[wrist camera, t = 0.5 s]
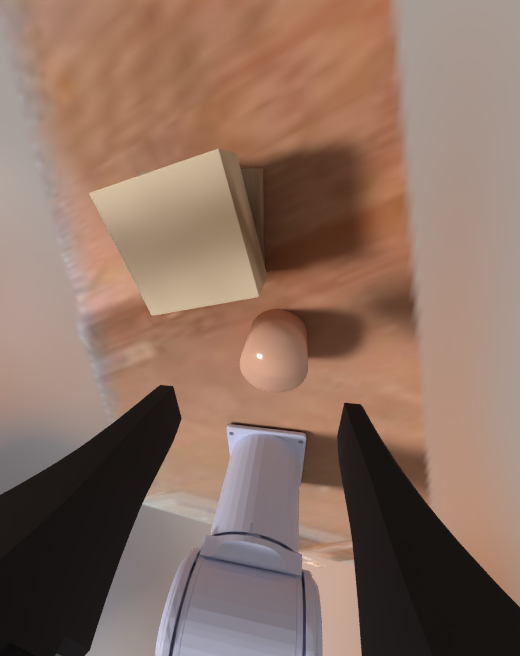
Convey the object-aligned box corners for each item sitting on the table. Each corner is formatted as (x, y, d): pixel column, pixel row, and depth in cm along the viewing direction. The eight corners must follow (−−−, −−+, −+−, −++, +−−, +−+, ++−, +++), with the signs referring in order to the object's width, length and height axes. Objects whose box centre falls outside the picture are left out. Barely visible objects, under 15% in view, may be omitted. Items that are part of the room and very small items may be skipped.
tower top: (266, 275, 15) (259, 296, 12) (175, 293, 16) (151, 315, 14) (236, 153, 12) (218, 148, 9) (129, 189, 13) (89, 193, 11)
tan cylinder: (305, 358, 21) (305, 395, 17) (251, 354, 21) (241, 389, 18) (309, 310, 19) (310, 341, 15) (249, 307, 19) (237, 336, 16)
